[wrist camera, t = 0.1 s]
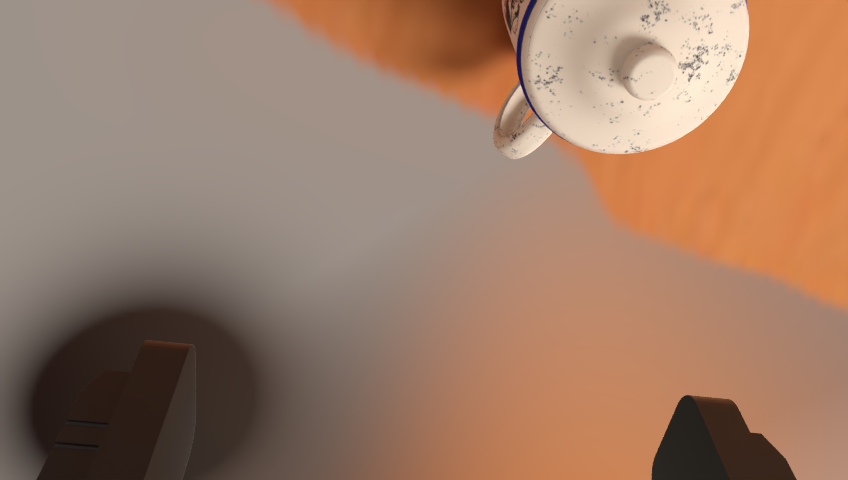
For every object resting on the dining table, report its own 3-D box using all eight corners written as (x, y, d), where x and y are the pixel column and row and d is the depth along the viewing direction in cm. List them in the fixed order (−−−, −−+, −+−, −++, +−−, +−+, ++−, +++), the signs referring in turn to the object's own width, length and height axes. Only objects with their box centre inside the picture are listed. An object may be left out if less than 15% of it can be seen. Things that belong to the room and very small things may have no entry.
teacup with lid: (587, -156, 35) (659, -114, 25) (723, -27, 38) (834, 55, 28) (421, 53, 40) (426, 157, 30) (553, 152, 43) (597, 275, 33)
